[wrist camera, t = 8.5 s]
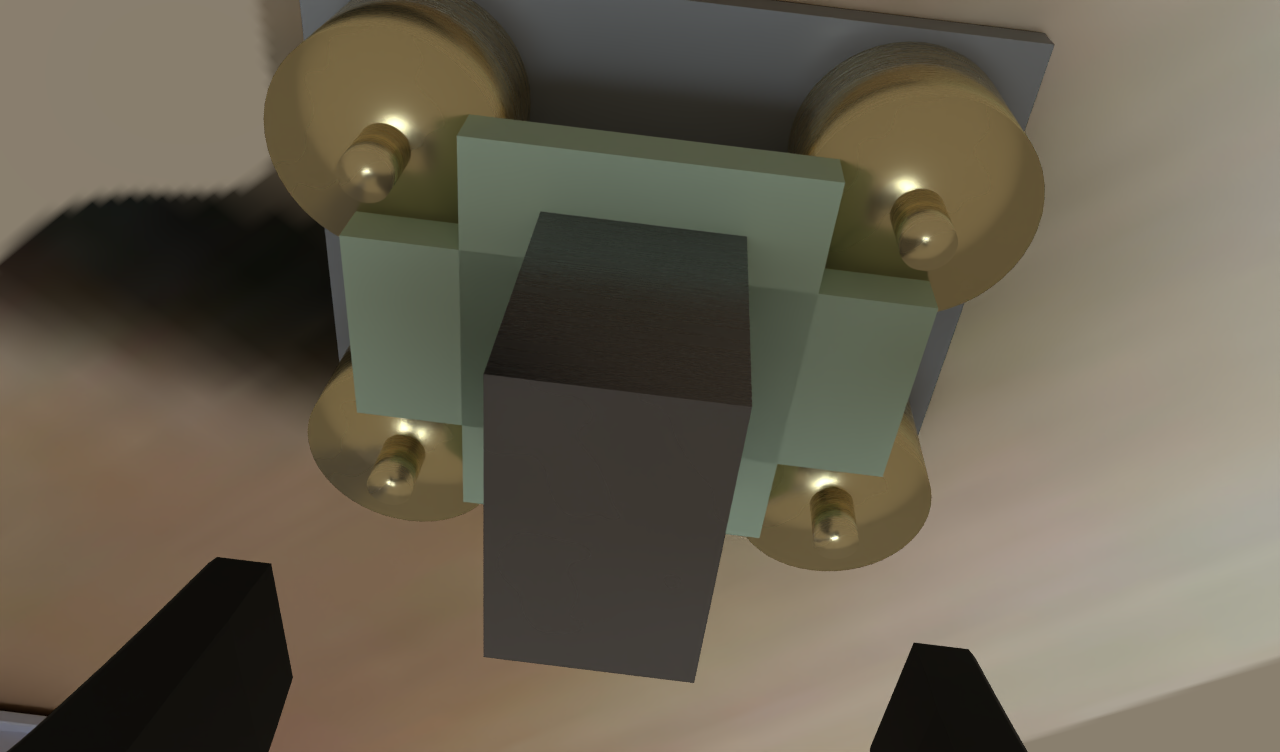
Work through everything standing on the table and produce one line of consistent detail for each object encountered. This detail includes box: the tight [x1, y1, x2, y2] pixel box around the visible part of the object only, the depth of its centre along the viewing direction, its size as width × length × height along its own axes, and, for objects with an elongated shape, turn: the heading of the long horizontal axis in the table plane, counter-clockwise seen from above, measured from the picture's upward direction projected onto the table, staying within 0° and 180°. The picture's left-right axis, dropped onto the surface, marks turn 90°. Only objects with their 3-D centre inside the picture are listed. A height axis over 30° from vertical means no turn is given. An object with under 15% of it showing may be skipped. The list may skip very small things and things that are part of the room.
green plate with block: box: [339, 114, 938, 683], centre depth 14 cm, size 9×7×5 cm
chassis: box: [264, 0, 1054, 571], centre depth 17 cm, size 12×10×4 cm
